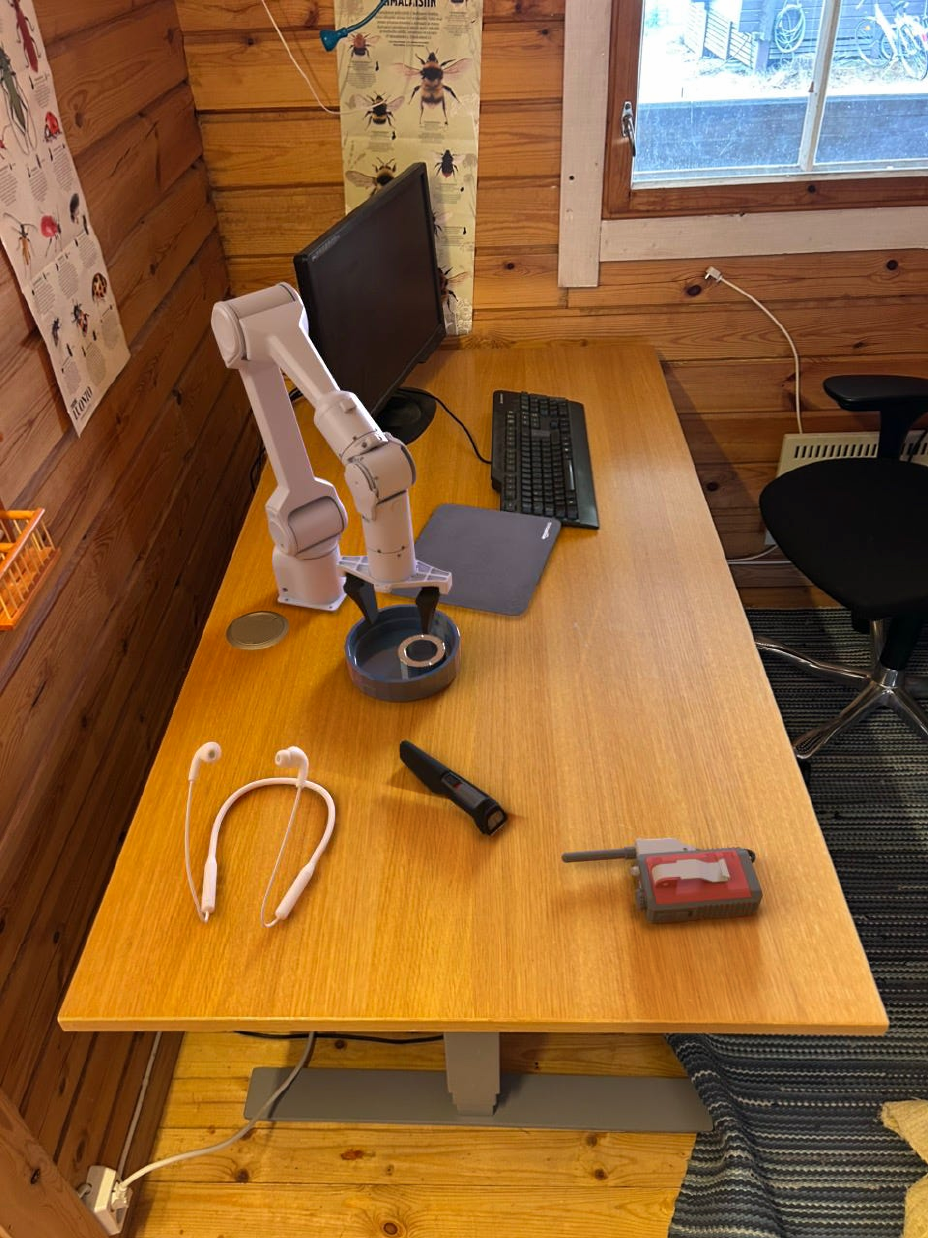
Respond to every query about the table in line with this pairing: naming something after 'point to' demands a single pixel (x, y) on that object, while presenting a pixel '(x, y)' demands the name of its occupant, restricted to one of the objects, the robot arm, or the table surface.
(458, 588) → the mouse pad
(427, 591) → the robot arm
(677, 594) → the table surface
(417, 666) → the steel ring
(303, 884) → the earphone
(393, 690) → the bowl
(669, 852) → the walkie-talkie
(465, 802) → the electric trimmer
